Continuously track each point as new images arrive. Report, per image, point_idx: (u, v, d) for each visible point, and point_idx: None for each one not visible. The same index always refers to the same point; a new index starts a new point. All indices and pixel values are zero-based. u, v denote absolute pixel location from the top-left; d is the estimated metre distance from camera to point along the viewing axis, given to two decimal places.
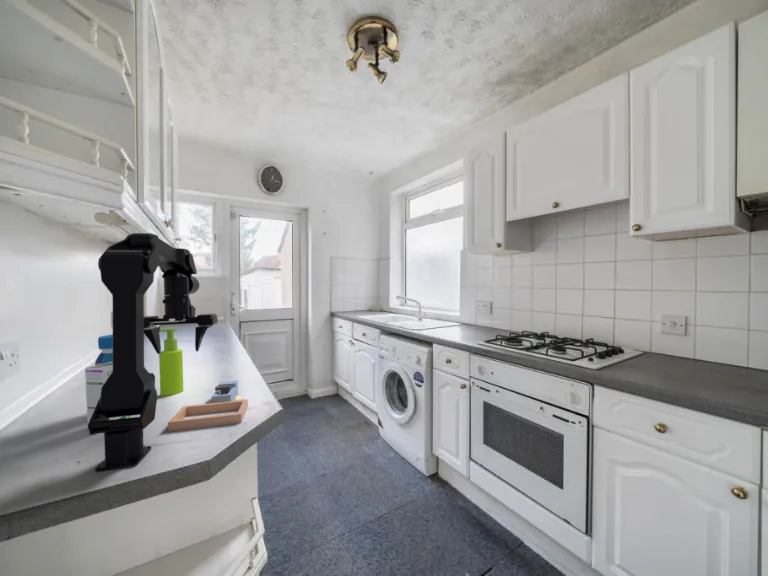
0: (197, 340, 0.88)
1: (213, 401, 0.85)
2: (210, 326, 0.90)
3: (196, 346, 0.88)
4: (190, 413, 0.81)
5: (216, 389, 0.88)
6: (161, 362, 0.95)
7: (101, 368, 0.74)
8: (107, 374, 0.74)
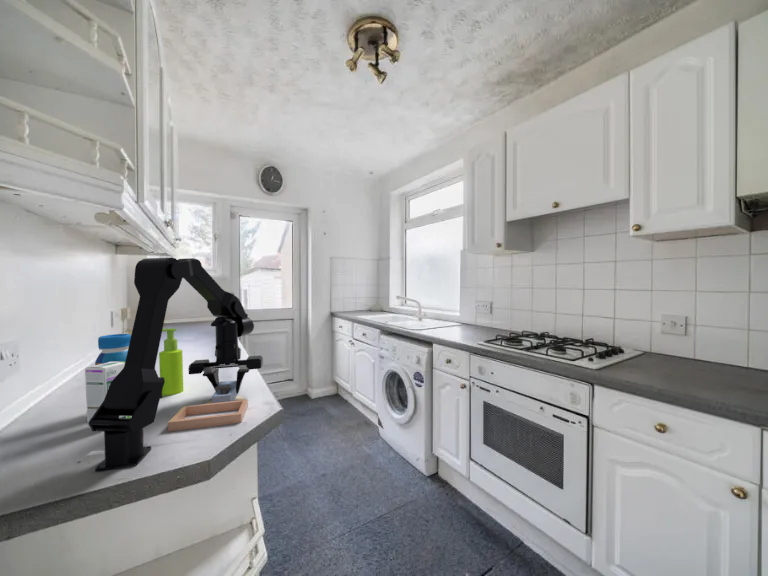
0: (238, 383, 0.93)
1: (213, 401, 0.85)
2: None
3: (237, 389, 0.93)
4: (190, 413, 0.81)
5: (216, 389, 0.88)
6: (161, 362, 0.95)
7: (101, 368, 0.74)
8: (107, 374, 0.74)
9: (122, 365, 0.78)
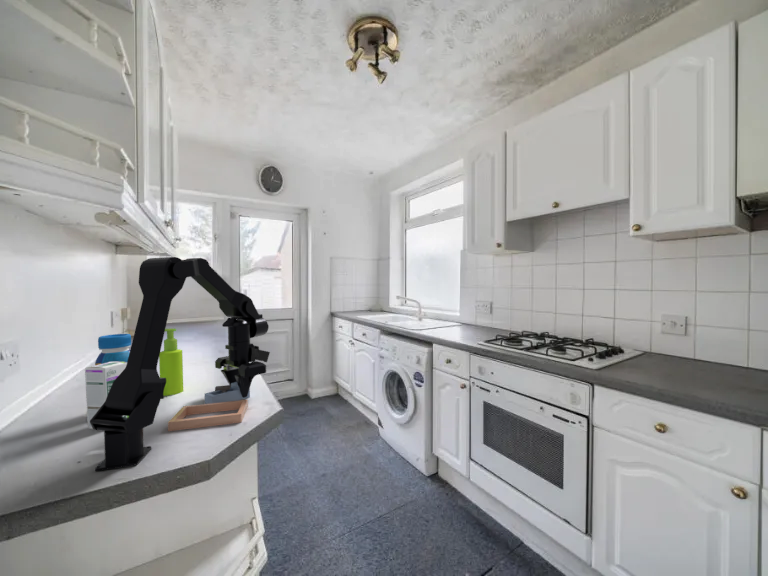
0: (239, 387, 0.89)
1: (205, 398, 0.87)
2: None
3: (241, 393, 0.90)
4: (190, 413, 0.81)
5: (216, 389, 0.88)
6: (161, 362, 0.95)
7: (101, 368, 0.74)
8: (107, 374, 0.74)
9: (122, 365, 0.78)
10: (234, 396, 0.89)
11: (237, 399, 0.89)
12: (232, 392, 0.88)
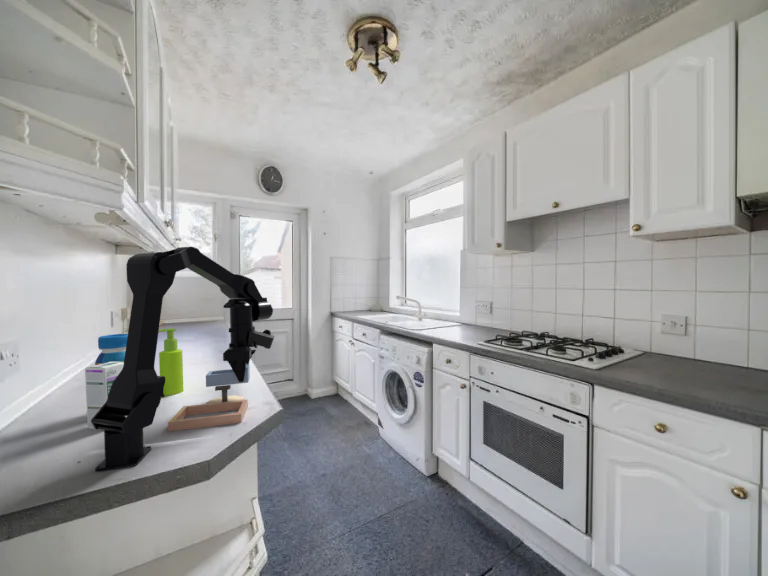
0: None
1: None
2: (239, 360, 0.84)
3: None
4: (190, 413, 0.81)
5: (216, 389, 0.88)
6: (161, 362, 0.95)
7: (101, 368, 0.74)
8: (107, 374, 0.74)
9: (122, 365, 0.78)
10: (230, 379, 0.87)
11: (233, 382, 0.87)
12: (227, 374, 0.87)
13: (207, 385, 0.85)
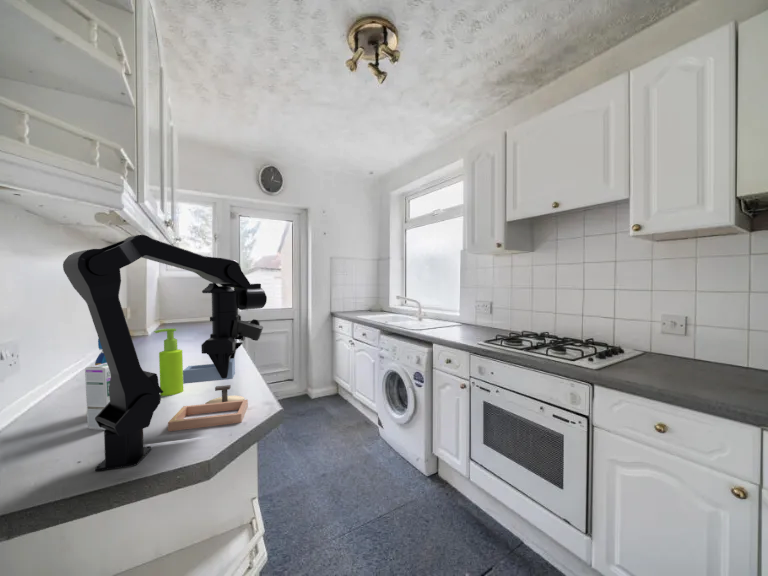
0: None
1: None
2: (221, 352, 0.73)
3: None
4: (190, 413, 0.81)
5: (216, 389, 0.88)
6: (161, 362, 0.95)
7: (101, 368, 0.74)
8: (107, 374, 0.74)
9: None
10: (211, 374, 0.76)
11: (215, 378, 0.76)
12: (208, 369, 0.76)
13: (184, 382, 0.74)
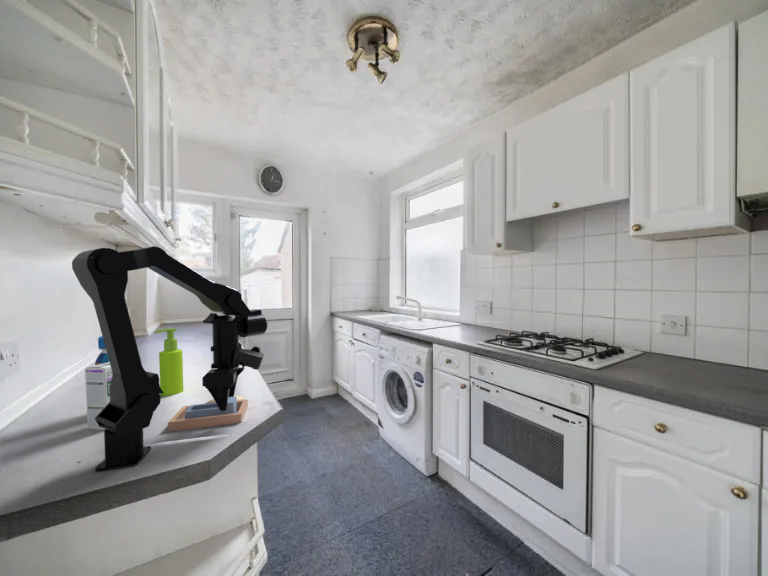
0: None
1: None
2: (220, 386, 0.71)
3: None
4: None
5: None
6: (161, 362, 0.95)
7: (101, 368, 0.74)
8: (107, 374, 0.74)
9: None
10: (212, 415, 0.76)
11: None
12: (210, 410, 0.76)
13: None
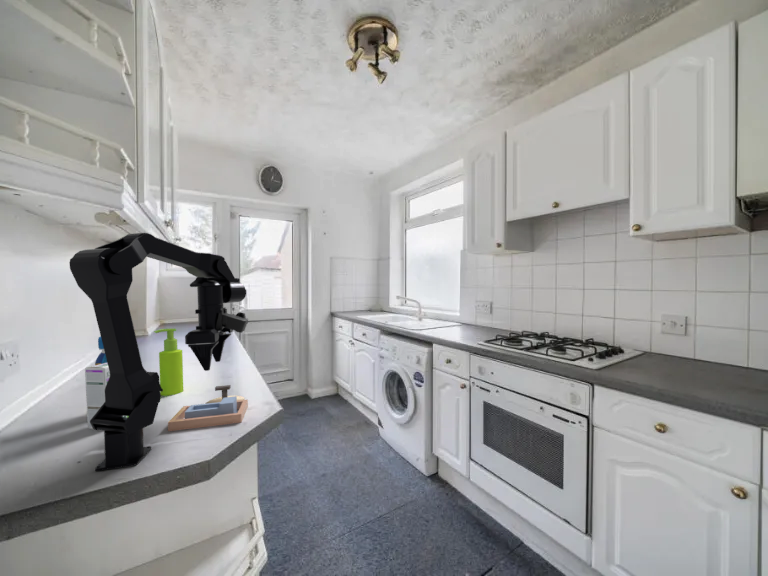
0: None
1: None
2: (202, 345, 0.74)
3: None
4: None
5: (216, 389, 0.88)
6: (161, 362, 0.95)
7: (101, 368, 0.74)
8: (107, 374, 0.74)
9: None
10: (212, 415, 0.76)
11: None
12: (210, 410, 0.76)
13: None
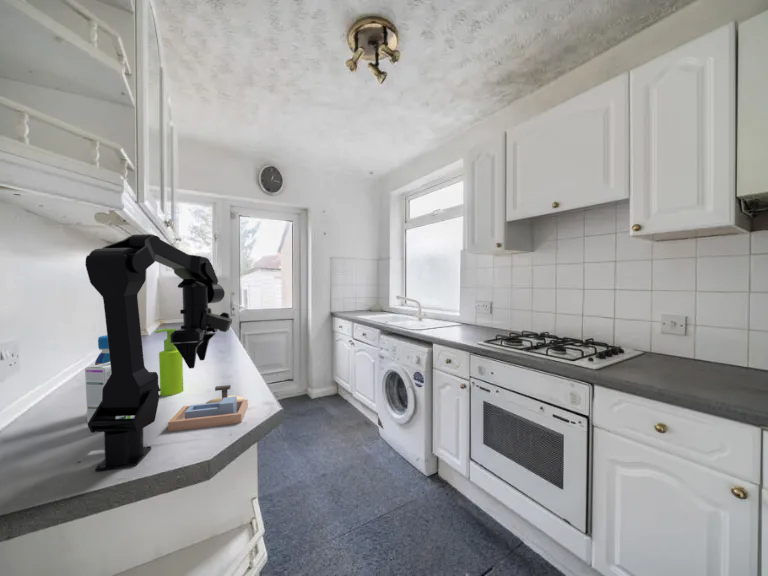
0: None
1: None
2: (187, 344, 0.78)
3: None
4: None
5: (216, 389, 0.88)
6: (161, 362, 0.95)
7: (101, 368, 0.74)
8: (107, 374, 0.74)
9: None
10: (212, 415, 0.76)
11: None
12: (210, 410, 0.76)
13: None
